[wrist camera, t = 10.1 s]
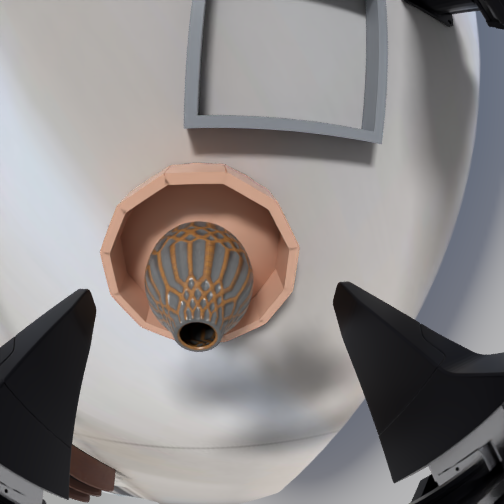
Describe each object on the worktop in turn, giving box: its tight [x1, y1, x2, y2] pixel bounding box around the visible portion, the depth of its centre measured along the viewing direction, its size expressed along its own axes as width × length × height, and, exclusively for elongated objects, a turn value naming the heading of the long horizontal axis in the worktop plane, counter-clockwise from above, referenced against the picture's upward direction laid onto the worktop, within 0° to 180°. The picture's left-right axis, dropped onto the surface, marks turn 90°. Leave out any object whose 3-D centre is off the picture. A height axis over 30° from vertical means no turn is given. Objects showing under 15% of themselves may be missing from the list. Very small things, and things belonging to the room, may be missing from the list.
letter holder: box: [69, 445, 115, 502], centre depth 37 cm, size 10×20×14 cm, turn 13°
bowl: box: [100, 163, 299, 342], centre depth 19 cm, size 13×13×3 cm
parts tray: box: [184, 0, 388, 144], centre depth 13 cm, size 14×14×2 cm
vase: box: [145, 221, 253, 352], centre depth 16 cm, size 7×7×9 cm
